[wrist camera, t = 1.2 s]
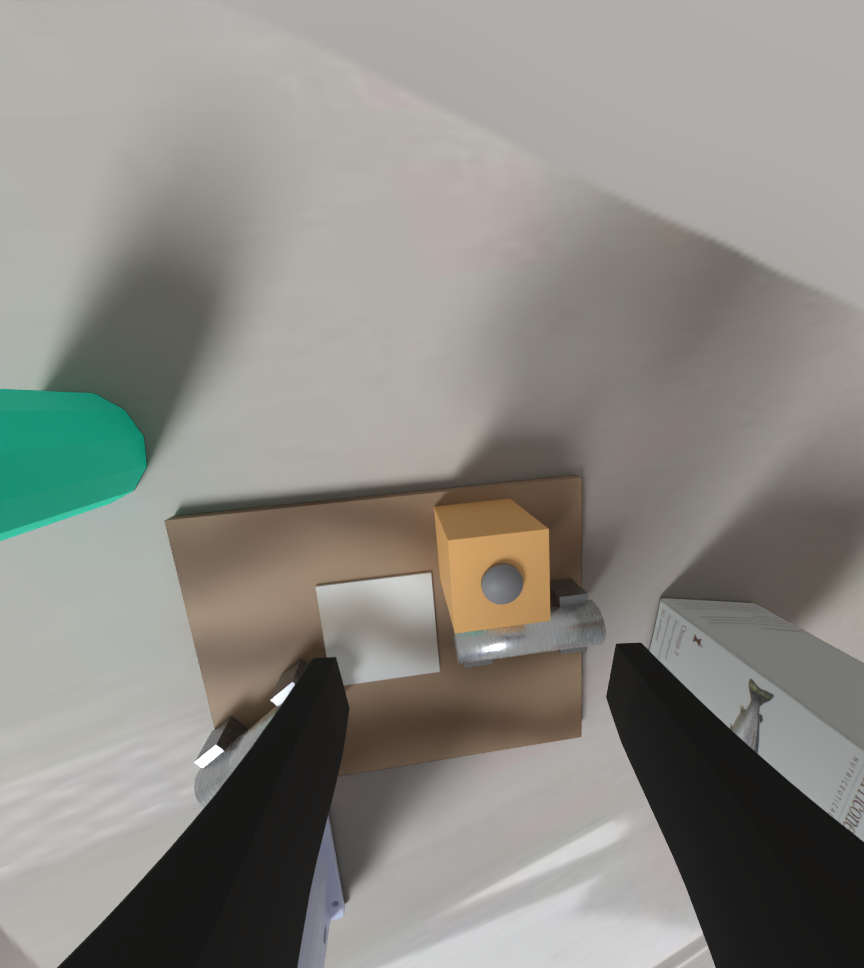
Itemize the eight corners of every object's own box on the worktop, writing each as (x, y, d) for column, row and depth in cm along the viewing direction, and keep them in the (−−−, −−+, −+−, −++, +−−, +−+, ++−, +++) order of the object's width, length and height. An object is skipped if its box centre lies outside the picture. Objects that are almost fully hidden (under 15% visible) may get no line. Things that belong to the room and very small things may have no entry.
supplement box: (656, 594, 25) (917, 780, 12) (755, 601, 26) (1091, 780, 13) (632, 691, 26) (845, 946, 14) (726, 694, 27) (1006, 935, 15)
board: (575, 727, 26) (582, 738, 25) (235, 781, 24) (229, 796, 23) (575, 475, 22) (583, 477, 21) (173, 516, 21) (162, 521, 20)
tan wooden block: (512, 569, 22) (553, 624, 17) (439, 578, 22) (456, 637, 16) (509, 498, 21) (551, 531, 16) (433, 506, 21) (448, 543, 15)
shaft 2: (577, 576, 23) (605, 603, 20) (576, 629, 24) (605, 663, 21) (447, 593, 22) (456, 623, 19) (452, 646, 23) (461, 684, 20)
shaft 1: (306, 653, 22) (291, 694, 19) (348, 691, 23) (340, 736, 20) (206, 735, 23) (177, 788, 19) (251, 770, 23) (229, 826, 20)
